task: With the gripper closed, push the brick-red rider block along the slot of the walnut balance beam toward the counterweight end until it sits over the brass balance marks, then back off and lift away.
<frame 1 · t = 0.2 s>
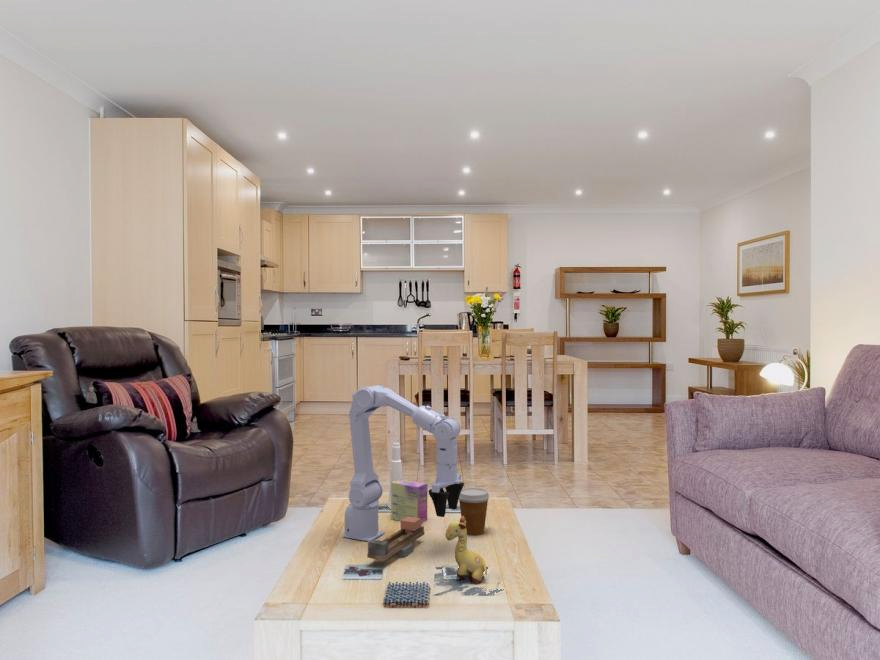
hand: (446, 512, 166), 10 cm above the table, tool pointing down, fingers open, 7 cm apart
spiky bristle mat: (407, 600, 135), on the table
disposable coffee cup: (473, 532, 180), on the table
stuffed giraffe: (471, 583, 144), on the table
cosmetic bottle: (396, 508, 204), on the table
box: (409, 520, 191), on the table
rider: (410, 525, 170), point 5 cm above the table, slide at 0.0 cm
beam: (397, 552, 163), on the table
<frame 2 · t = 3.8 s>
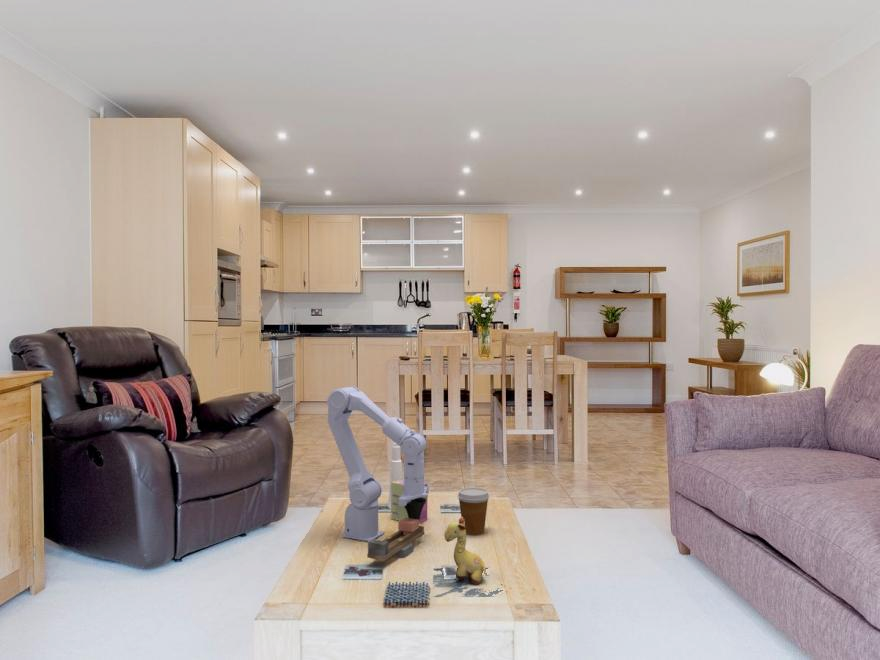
hand: (414, 524, 171), 5 cm above the table, tool pointing down, fingers closed
rider: (408, 527, 169), point 5 cm above the table, slide at 1.2 cm, touching gripper
everything else where it was.
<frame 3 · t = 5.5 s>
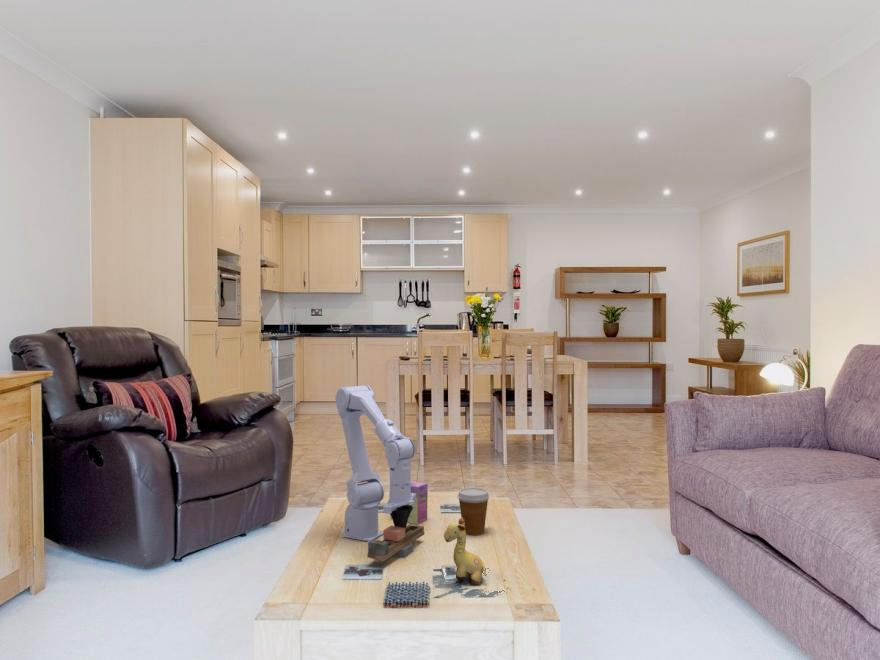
hand: (400, 533, 164), 5 cm above the table, tool pointing down, fingers closed
rider: (394, 535, 161), point 5 cm above the table, slide at 9.1 cm, touching gripper
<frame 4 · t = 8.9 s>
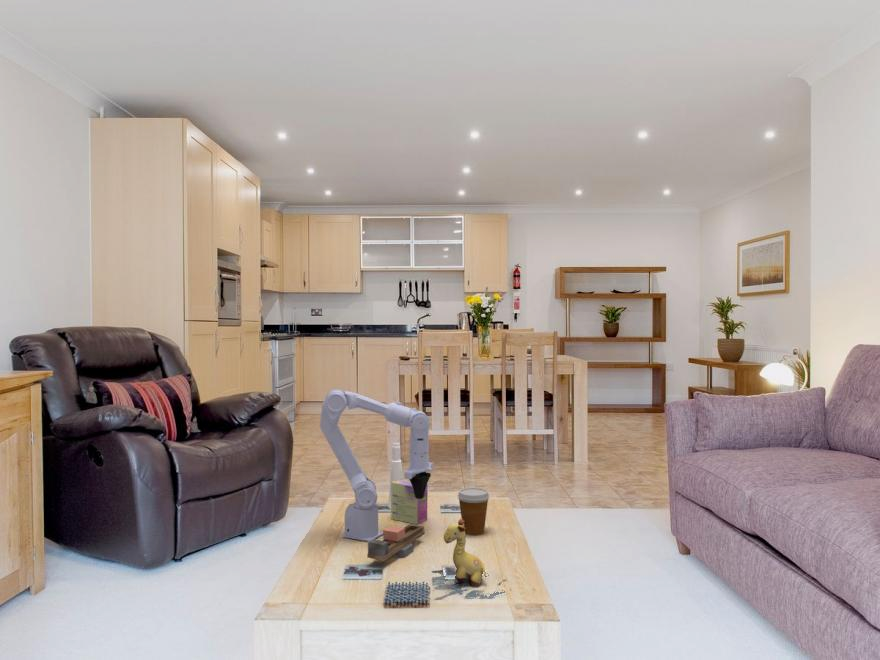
hand: (419, 498, 179), 10 cm above the table, tool pointing down, fingers closed
rider: (394, 536, 161), point 5 cm above the table, slide at 9.2 cm
at the end: rider slide at 9.2 cm; rider moved 9.2 cm from its start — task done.
